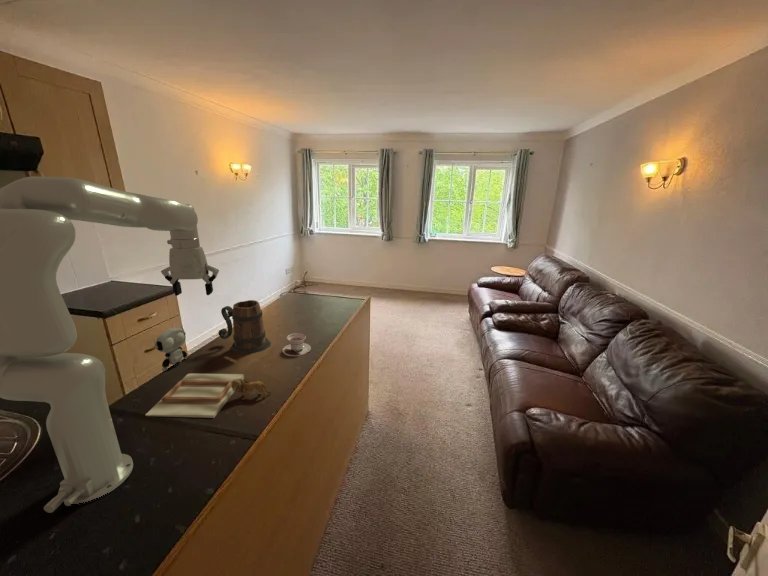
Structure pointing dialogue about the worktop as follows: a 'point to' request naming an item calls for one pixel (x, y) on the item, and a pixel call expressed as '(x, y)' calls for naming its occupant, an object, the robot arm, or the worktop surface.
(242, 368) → the worktop surface
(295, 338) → the teacup
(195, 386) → the base plate
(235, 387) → the lion figurine
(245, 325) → the tankard
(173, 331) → the robot toy
